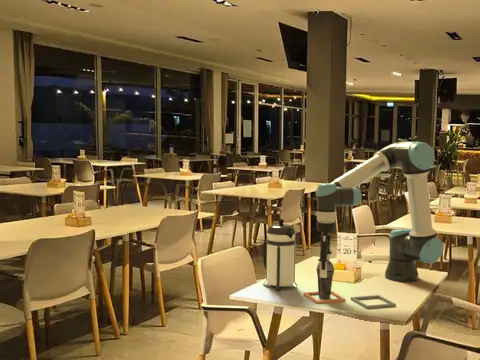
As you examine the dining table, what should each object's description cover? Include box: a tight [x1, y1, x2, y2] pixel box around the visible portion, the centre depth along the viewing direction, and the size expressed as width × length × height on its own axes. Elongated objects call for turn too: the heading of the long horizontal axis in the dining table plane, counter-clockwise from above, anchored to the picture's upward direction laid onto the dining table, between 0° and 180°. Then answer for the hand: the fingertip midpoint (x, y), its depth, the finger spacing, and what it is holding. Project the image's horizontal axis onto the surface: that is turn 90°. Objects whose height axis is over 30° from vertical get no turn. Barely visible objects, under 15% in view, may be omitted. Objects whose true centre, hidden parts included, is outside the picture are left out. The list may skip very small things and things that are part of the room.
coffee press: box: [263, 218, 298, 292], centre depth 246 cm, size 17×16×30 cm
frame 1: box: [303, 290, 347, 304], centre depth 229 cm, size 13×13×1 cm
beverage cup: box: [316, 260, 335, 300], centre depth 229 cm, size 7×7×20 cm
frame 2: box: [350, 294, 397, 310], centre depth 223 cm, size 13×13×1 cm
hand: (324, 273), depth 229 cm, fingers open, 13 cm apart
